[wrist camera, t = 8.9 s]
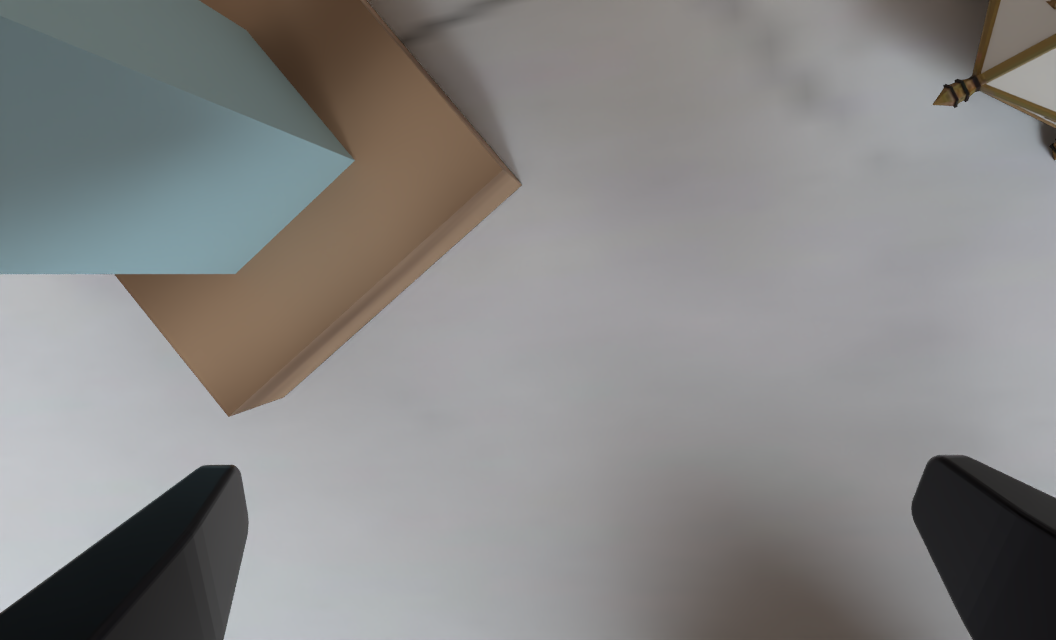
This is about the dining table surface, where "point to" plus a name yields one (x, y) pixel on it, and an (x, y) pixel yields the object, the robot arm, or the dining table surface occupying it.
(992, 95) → the game die
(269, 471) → the dining table surface
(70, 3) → the slate-blue block
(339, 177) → the walnut slab
